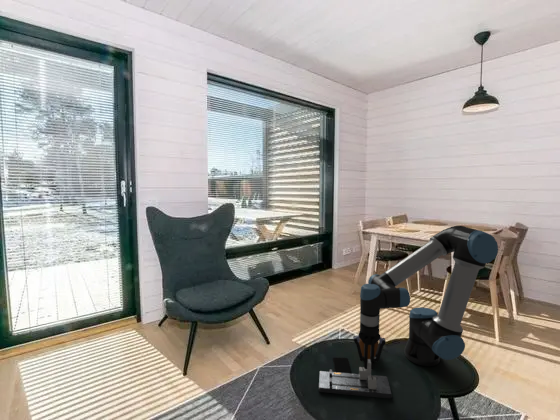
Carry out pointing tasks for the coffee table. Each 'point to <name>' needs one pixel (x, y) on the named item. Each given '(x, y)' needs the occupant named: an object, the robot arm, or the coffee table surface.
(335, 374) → the console
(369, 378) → the block
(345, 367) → the smartphone
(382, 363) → the coffee table surface
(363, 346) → the mug
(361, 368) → the fader
